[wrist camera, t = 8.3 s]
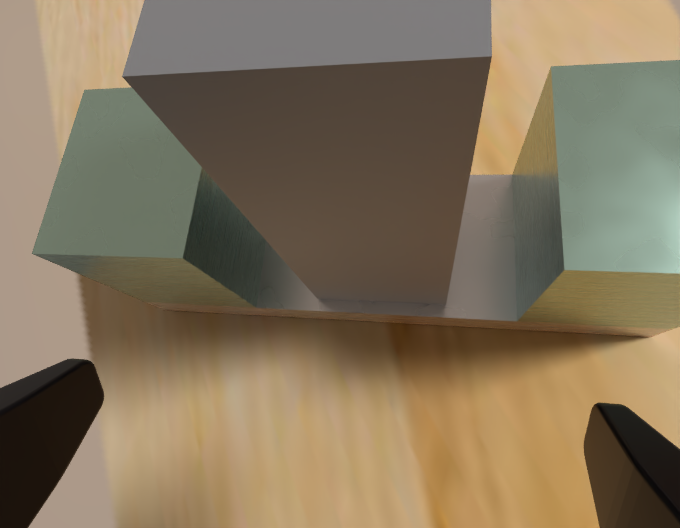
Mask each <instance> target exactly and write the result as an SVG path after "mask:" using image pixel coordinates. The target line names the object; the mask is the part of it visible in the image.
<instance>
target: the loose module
mask: <svg viewBox="0 0 680 528" xmlns="http://www.w3.org/2000/svg"><path fill="white" fill-rule="evenodd" d="M491 58H492V41H491V0H145V1H144V4H143V8H142V11H141V14H140V18H139V21H138V25H137V28H136V31H135V35H134V38H133V42H132V45H131V48H130V52H129V55H128V59H127V62H126V65H125V69H124V72H123V76H122V77H123V78H124V79H125V80H126V81H127V82H128V84H129V85H130V86H131V87H132V88H133V89H134V90H135V92H136V93H137V94H138V95H139V96H140V97H141V98H142V100H143V101H144V102H145V103H146V104H147V105H148V106H149V108H150V109H151V110H152V111H153V112H154V113H155V114H156V116H157V117H158V118H159V119H160V120H161V121H162V122H163V124H164V125H165V126H166V127H167V128H168V129H169V130H170V131H171V133H172V134H173V135H174V136H175V137H176V138H177V139H178V141H179V142H180V143H181V144H182V145H183V146H184V147H185V149H186V150H187V151H188V152H189V153H190V154H191V155H192V157H193V158H194V159H195V160H196V161H197V162H198V163H199V165H200V166H201V167H202V168H203V169H204V170H205V171H206V173H207V174H208V175H209V176H210V177H211V178H212V179H213V181H214V182H215V183H216V184H217V185H218V186H219V187H220V188H221V190H222V191H223V192H224V193H225V194H226V195H227V196H228V198H229V199H230V200H231V201H232V202H233V203H234V204H235V206H236V207H237V208H238V209H239V210H240V211H241V212H242V214H243V215H244V216H245V217H246V218H247V219H248V220H249V222H250V223H251V224H252V225H253V226H254V227H255V228H256V230H257V231H258V232H259V233H260V234H261V235H262V236H263V237H264V239H265V240H266V241H267V242H268V243H269V244H270V245H271V247H272V248H273V249H274V250H275V251H276V252H277V253H278V255H279V256H280V257H281V258H282V259H283V260H284V261H285V263H286V264H287V265H288V266H289V267H290V268H291V269H292V271H293V272H294V273H295V274H296V275H297V276H298V277H299V279H300V280H301V281H302V282H303V283H304V284H305V285H306V286H307V288H308V289H309V290H310V291H311V292H312V293H313V294H314V296H315V297H316V298H317V299H337V300H358V301H379V302H400V303H421V304H442V305H446V302H447V297H448V291H449V286H450V281H451V275H452V270H453V264H454V259H455V253H456V248H457V243H458V237H459V232H460V226H461V221H462V215H463V210H464V204H465V199H466V194H467V188H468V183H469V177H470V172H471V166H472V161H473V155H474V150H475V145H476V139H477V134H478V128H479V123H480V117H481V112H482V107H483V101H484V96H485V90H486V85H487V79H488V74H489V68H490V63H491Z"/></svg>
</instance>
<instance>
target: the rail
mask: <svg viewBox="0 0 680 528" xmlns="http://www.w3.org/2000/svg"><path fill="white" fill-rule="evenodd" d="M32 254H34V255H36V256H39V257H41V258H43V259H46V260H48V261H50V262H53V263H55V264H58V265H60V266H62V267H64V268H67V269H69V270H71V271H74V272H76V273H78V274H81V275H83V276H86V277H88V278H90V279H93V280H95V281H97V282H100V283H102V284H104V285H107V286H109V287H111V288H114V289H116V290H118V291H121V292H123V293H125V294H128V295H130V296H132V297H135V298H137V299H139V300H142V301H144V302H146V303H149V304H151V305H153V306H156V307H158V308H161V309H163V310H173V311H191V312H209V313H227V314H245V315H263V316H281V317H299V318H317V319H336V320H354V321H372V322H390V323H408V324H426V325H444V326H462V327H480V328H498V329H516V330H534V331H552V332H570V333H588V334H606V335H625V336H643V337H653V336H655V335H658V334H661V333H663V332H666V331H669V330H672V329H674V328H677V327H680V60H673V61H653V62H633V63H613V64H593V65H573V66H553V67H551V68H550V71H549V74H548V76H547V79H546V82H545V85H544V88H543V90H542V93H541V96H540V99H539V102H538V104H537V107H536V110H535V113H534V116H533V118H532V121H531V124H530V127H529V130H528V132H527V135H526V138H525V141H524V144H523V147H522V149H521V152H520V155H519V158H518V161H517V163H516V166H515V169H514V172H513V175H470V177H469V183H468V188H467V194H466V199H465V204H464V210H463V215H462V221H461V226H460V232H459V237H458V243H457V248H456V253H455V259H454V264H453V270H452V275H451V281H450V286H449V291H448V297H447V302H446V305H442V304H421V303H400V302H379V301H358V300H337V299H317V298H316V297H315V296H314V294H313V293H312V292H311V291H310V290H309V289H308V288H307V286H306V285H305V284H304V283H303V282H302V281H301V280H300V279H299V277H298V276H297V275H296V274H295V273H294V272H293V271H292V269H291V268H290V267H289V266H288V265H287V264H286V263H285V261H284V260H283V259H282V258H281V257H280V256H279V255H278V253H277V252H276V251H275V250H274V249H273V248H272V247H271V245H270V244H269V243H268V242H267V241H266V240H265V239H264V237H263V236H262V235H261V234H260V233H259V232H258V231H257V230H256V228H255V227H254V226H253V225H252V224H251V223H250V222H249V220H248V219H247V218H246V217H245V216H244V215H243V214H242V212H241V211H240V210H239V209H238V208H237V207H236V206H235V204H234V203H233V202H232V201H231V200H230V199H229V198H228V196H227V195H226V194H225V193H224V192H223V191H222V190H221V188H220V187H219V186H218V185H217V184H216V183H215V182H214V181H213V179H212V178H211V177H210V176H209V175H208V174H207V173H206V171H205V170H204V169H203V168H202V167H201V166H200V165H199V163H198V162H197V161H196V160H195V159H194V158H193V157H192V155H191V154H190V153H189V152H188V151H187V150H186V149H185V147H184V146H183V145H182V144H181V143H180V142H179V141H178V139H177V138H176V137H175V136H174V135H173V134H172V133H171V131H170V130H169V129H168V128H167V127H166V126H165V125H164V124H163V122H162V121H161V120H160V119H159V118H158V117H157V116H156V114H155V113H154V112H153V111H152V110H151V109H150V108H149V106H148V105H147V104H146V103H145V102H144V101H143V100H142V98H141V97H140V96H139V95H138V94H137V93H136V92H135V90H134V89H133V88H113V89H93V90H84V93H83V96H82V99H81V102H80V105H79V109H78V112H77V115H76V118H75V121H74V124H73V127H72V130H71V133H70V137H69V140H68V143H67V146H66V149H65V152H64V155H63V158H62V162H61V165H60V168H59V171H58V174H57V177H56V181H55V183H54V186H53V190H52V193H51V196H50V199H49V202H48V205H47V208H46V212H45V214H44V218H43V221H42V224H41V227H40V230H39V233H38V236H37V239H36V242H35V246H34V249H33V252H32Z"/></svg>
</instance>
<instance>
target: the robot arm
mask: <svg viewBox="0 0 680 528" xmlns="http://www.w3.org/2000/svg"><path fill="white" fill-rule="evenodd" d="M103 401H104V392H103V388H102V386H101V383H100V380H99V377H98V374H97V371H96V369H95V366H94V364H93V363H92V362H91V361H89V360H84V359H67V360H65V361H62V362H60V363H58V364H55V365H53V366H51V367H48V368H46V369H44V370H41V371H39V372H37V373H35V374H32V375H30V376H27V377H25V378H23V379H20V380H18V381H16V382H14V383H11V384H9V385H6V386H4V387H2V388H0V528H28V527H29V525H30V524H31V522H32V521H33V519H34V518H35V517H36V515H37V514H38V512H39V511H40V509H41V508H42V506H43V504H44V503H45V502H46V500H47V499H48V497H49V496H50V494H51V492H52V491H53V490H54V488H55V487H56V485H57V484H58V482H59V480H60V479H61V477H62V476H63V474H64V472H65V470H66V469H67V467H68V465H69V464H70V462H71V460H72V458H73V457H74V455H75V453H76V451H77V449H78V448H79V446H80V444H81V442H82V440H83V439H84V437H85V435H86V433H87V431H88V430H89V428H90V426H91V424H92V422H93V421H94V419H95V417H96V415H97V414H98V412H99V410H100V408H101V406H102V404H103ZM584 455H585V460H586V465H587V470H588V474H589V479H590V484H591V489H592V493H593V498H594V503H595V507H596V512H597V517H598V521H599V526H600V528H680V449H679V448H678V447H676V446H675V445H674V444H673V443H671V442H670V441H669V440H668V439H666V438H665V437H664V436H663V435H661V434H660V433H659V432H658V431H656V430H655V429H654V428H653V427H651V426H650V425H649V424H648V423H646V422H645V421H644V420H643V419H641V418H640V417H639V416H638V415H637V414H635V413H634V412H633V411H632V410H630V409H629V408H628V407H626V406H624V405H621V404H610V403H597V404H595V405H594V406H593V408H592V410H591V414H590V418H589V423H588V427H587V431H586V435H585V439H584Z"/></svg>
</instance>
